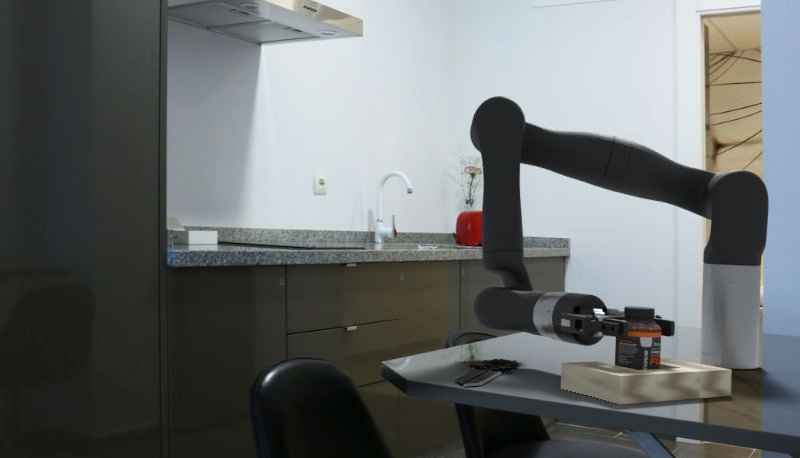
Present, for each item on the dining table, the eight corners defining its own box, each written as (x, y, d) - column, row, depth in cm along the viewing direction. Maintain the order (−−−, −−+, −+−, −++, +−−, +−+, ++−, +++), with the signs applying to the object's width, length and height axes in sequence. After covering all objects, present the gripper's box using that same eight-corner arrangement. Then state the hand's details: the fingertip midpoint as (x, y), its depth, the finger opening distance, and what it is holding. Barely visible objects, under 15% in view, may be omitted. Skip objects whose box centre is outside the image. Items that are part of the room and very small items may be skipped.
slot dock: (668, 382, 121) (668, 358, 121) (730, 395, 112) (731, 369, 112) (560, 389, 112) (561, 362, 112) (619, 404, 102) (620, 375, 102)
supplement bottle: (658, 396, 109) (661, 309, 110) (611, 391, 111) (614, 306, 112) (660, 389, 115) (663, 307, 115) (616, 385, 117) (619, 304, 117)
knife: (474, 393, 109) (474, 382, 109) (428, 387, 112) (429, 377, 112) (529, 369, 132) (529, 360, 132) (490, 365, 135) (491, 356, 135)
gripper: (533, 292, 122) (611, 301, 108) (606, 292, 129) (688, 301, 115) (531, 343, 122) (609, 359, 108) (604, 341, 129) (687, 355, 115)
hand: (650, 329), depth 112 cm, fingers open, 8 cm apart
